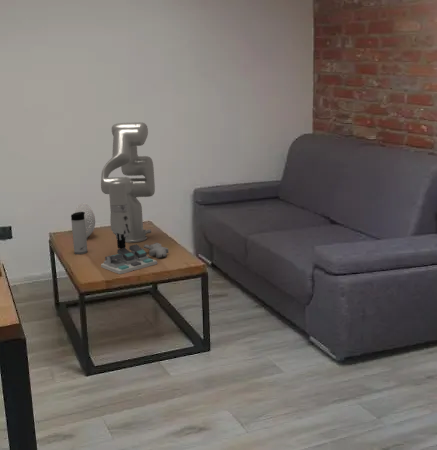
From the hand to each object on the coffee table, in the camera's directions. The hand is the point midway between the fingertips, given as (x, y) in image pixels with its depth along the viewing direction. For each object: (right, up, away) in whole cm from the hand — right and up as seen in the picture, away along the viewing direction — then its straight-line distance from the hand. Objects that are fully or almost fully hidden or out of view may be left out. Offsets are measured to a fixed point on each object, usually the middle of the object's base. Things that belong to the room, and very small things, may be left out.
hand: (121, 247), depth 313 cm
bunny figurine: (+15, -4, +14) cm, 20 cm away
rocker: (-3, -4, -6) cm, 7 cm away
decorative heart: (-26, +4, +50) cm, 56 cm away
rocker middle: (+2, -3, -1) cm, 4 cm away
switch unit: (+4, -8, -2) cm, 9 cm away
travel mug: (-22, -3, +22) cm, 31 cm away
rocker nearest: (+7, -1, +3) cm, 8 cm away
